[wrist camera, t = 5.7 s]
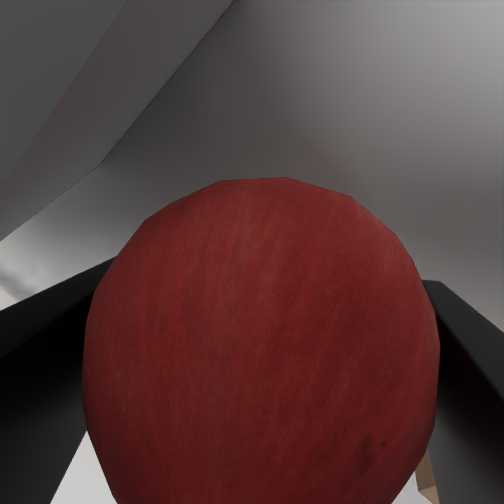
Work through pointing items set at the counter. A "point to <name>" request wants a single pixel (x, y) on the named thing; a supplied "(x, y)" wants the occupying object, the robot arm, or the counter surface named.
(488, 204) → the counter surface
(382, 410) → the onion
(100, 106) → the jamb
